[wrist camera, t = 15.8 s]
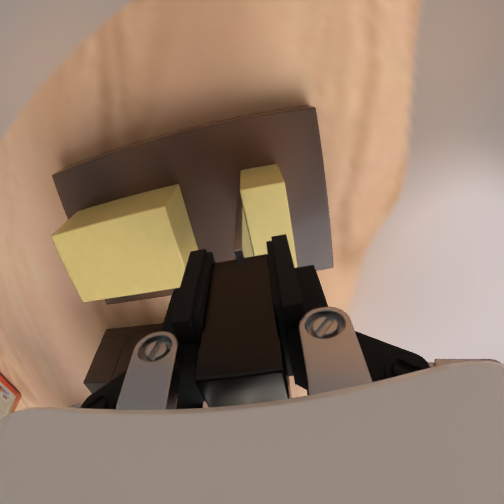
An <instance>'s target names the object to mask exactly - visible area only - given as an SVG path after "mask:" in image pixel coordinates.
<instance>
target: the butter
mask: <svg viewBox="0 0 504 504" xmlns="http://www.w3.org/2000/svg"><path fill="white" fill-rule="evenodd" d="M51 237H52V239H53V242H54V244H55V246H56V248H57V251H58V253H59V255H60V257H61V259H62V261H63V263H64V265H65V268H66V270H67V272H68V274H69V276H70V278H71V280H72V282H73V284H74V286H75V288H76V289H77V291H78V293H79V295H80V297H81V299H82V301H83V302H87V301H94V300H101V299H108V298H115V297H122V296H128V295H135V294H141V293H148V292H154V291H161V290H167V289H174V288H180V285H181V282H182V278H183V275H184V272H185V268H186V265H187V261H188V258H189V255H190V252H191V251H196V250H198V247H197V244H196V241H195V237H194V234H193V231H192V227H191V224H190V221H189V217H188V214H187V210H186V207H185V203H184V200H183V196H182V193H181V189H180V186H179V184H176V185H172V186H168V187H163V188H159V189H155V190H151V191H148V192H144V193H140V194H136V195H132V196H129V197H125V198H121V199H118V200H114V201H111V202H107V203H104V204H100V205H97V206H93V207H90V208H87V209H83V210H80V211H78V212H76V213H75V214H74V215H73V216H72V217H71V218H70V219H69V220H68V221H66V222H65V223H64V224H63V225H62V226H61V227H60V228H59V229H58V230H57V231H56V232H55V233H54V234H53V235H52V236H51Z"/></svg>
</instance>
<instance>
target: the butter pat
mask: <svg viewBox="0 0 504 504" xmlns="http://www.w3.org/2000/svg"><path fill="white" fill-rule="evenodd" d="M240 194H241V199H242V203H243V208H244V213H245V217H246V222H247V226H248V231H249V235H250V240H251V244H252V249H253V254H254V256H258V255H263V254H268V253H267V245H266V242H267V241H272V238H271V237H272V236H278V235H284V234H286V236H287V240H288V244H289V248H290V252H291V256H292V260H293V264H294V268H297V259H296V252H295V245H294V239H293V232H292V225H291V219H290V212H289V206H288V199H287V193H286V187H285V182H284V180H283V177H282V175H281V172H280V170H279V168H278V165H277V164H272V165H266V166H261V167H255V168H250V169H245V170H241V174H240Z"/></svg>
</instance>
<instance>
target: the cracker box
mask: <svg viewBox="0 0 504 504" xmlns="http://www.w3.org/2000/svg"><path fill="white" fill-rule="evenodd" d="M20 398H21V394H20V393H19V392H18V391H17V390H16V389H15V388H13V387H12V386H11V385H10V384H9V383H8V382H7V381H6V380H5V379H4V378H3V377H2V375H1V374H0V420H1V419H2V418H3V417H5V416H7V415H8V414H11V413H13V412H14V411H15V409H16V407H17V404H18V402H19V400H20Z"/></svg>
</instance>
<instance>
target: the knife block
mask: <svg viewBox="0 0 504 504" xmlns="http://www.w3.org/2000/svg"><path fill="white" fill-rule="evenodd" d="M162 327H163V324H155V325H146V326H137V327H128V328H118V329H107V330H106V332H105V334H104V336H103V338H102V341H101V343H100V345H99V347H98V350H97V352H96V354H95V356H94V359H93V361H92V363H91V366H90V368H89V371H88V373H87V375H86V378H85V380H84V384H85V386H86V387H87V388H88V389H89V391H90V392H91V393H92V394H93V393H94V392H96V391H97V390H99V389H100V388H101V387H103V386H104V385H106V384H107V383H109V382H110V381H111V380H113V379H114V378H116V377H117V376H118V375H120V374H121V373H123V372H124V371H125V370H127V369H128V366H129V363H130V360H131V357H132V354H133V351H134V348H135V346H136V344H137V343H138V342H139V341H140V340H141V339H143V338H144V337H145V336H147V335H149V334H152V333H155V332H161V330H162Z"/></svg>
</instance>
